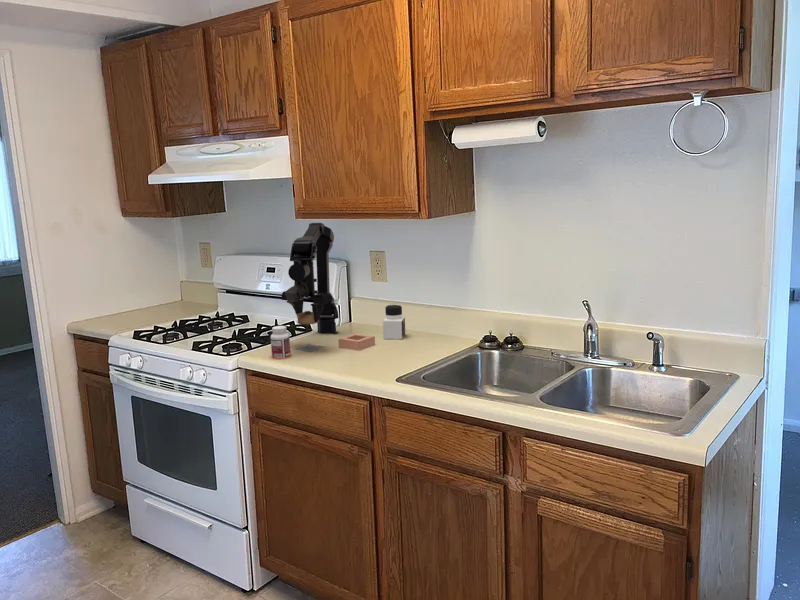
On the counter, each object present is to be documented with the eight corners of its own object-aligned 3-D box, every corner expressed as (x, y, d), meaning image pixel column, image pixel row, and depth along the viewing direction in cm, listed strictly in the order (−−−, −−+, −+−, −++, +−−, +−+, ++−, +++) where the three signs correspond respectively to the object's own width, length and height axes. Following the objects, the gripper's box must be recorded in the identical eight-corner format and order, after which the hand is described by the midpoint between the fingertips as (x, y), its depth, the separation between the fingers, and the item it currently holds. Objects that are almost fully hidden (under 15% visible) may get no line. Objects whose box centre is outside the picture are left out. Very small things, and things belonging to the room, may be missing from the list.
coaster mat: (293, 352, 243) (293, 349, 243) (308, 346, 249) (308, 344, 249) (310, 354, 239) (310, 352, 238) (326, 349, 245) (326, 346, 245)
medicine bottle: (402, 339, 256) (401, 307, 254) (383, 339, 257) (382, 307, 255) (405, 334, 263) (404, 303, 260) (386, 334, 264) (385, 303, 262)
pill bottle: (287, 355, 238) (285, 324, 236) (293, 360, 233) (291, 327, 231) (269, 358, 235) (267, 326, 233) (275, 363, 230) (273, 330, 228)
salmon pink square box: (338, 350, 244) (338, 338, 243) (354, 344, 251) (354, 333, 250) (359, 353, 239) (358, 341, 238) (375, 347, 246) (374, 336, 245)
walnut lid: (293, 323, 241) (292, 312, 240) (307, 319, 247) (306, 308, 246) (309, 325, 237) (308, 314, 236) (322, 321, 243) (321, 310, 242)
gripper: (268, 278, 238) (271, 323, 241) (310, 281, 227) (312, 328, 230) (291, 273, 247) (294, 317, 250) (332, 276, 236) (334, 322, 239)
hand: (308, 321), depth 242 cm, fingers closed on walnut lid, 7 cm apart
